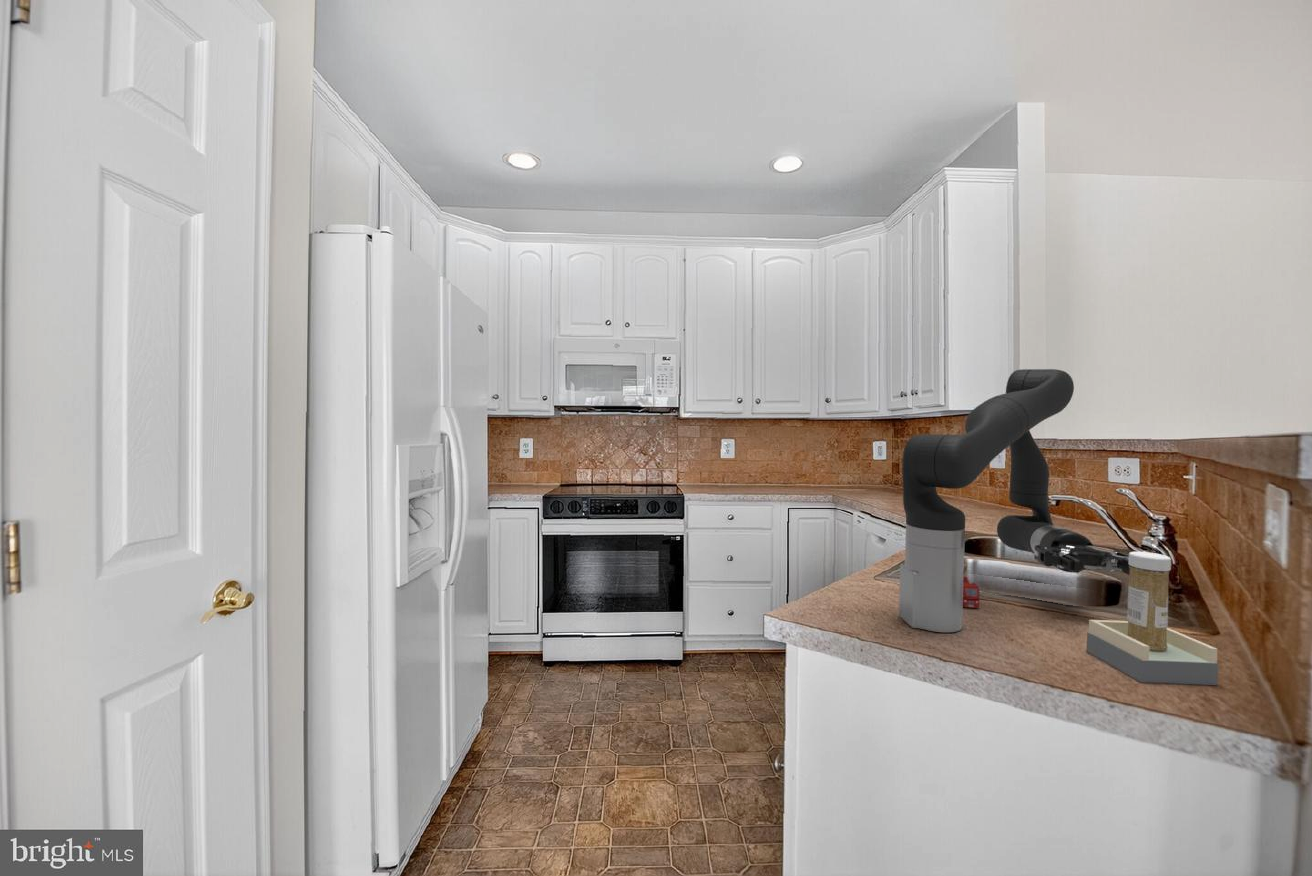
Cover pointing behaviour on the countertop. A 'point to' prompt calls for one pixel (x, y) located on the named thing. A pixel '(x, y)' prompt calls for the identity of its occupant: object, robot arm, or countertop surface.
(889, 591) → the countertop surface
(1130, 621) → the sprinkles bottle
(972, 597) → the toy fire truck
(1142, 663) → the shallow square tray
